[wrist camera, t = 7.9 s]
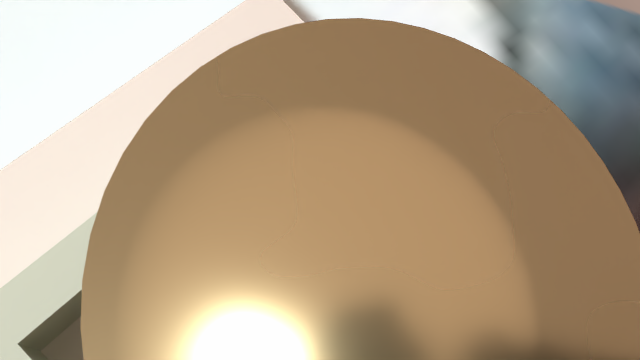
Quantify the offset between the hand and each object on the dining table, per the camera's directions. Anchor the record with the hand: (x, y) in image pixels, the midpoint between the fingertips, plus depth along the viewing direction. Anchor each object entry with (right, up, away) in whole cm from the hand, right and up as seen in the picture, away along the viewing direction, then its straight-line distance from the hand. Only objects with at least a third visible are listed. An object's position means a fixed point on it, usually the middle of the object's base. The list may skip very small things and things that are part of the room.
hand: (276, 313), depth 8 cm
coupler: (-2, -3, +8) cm, 9 cm away
